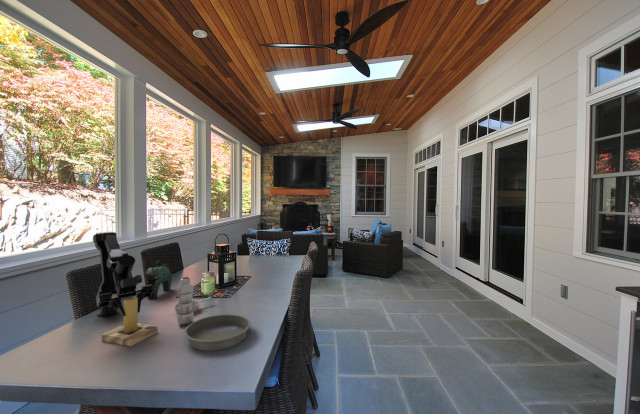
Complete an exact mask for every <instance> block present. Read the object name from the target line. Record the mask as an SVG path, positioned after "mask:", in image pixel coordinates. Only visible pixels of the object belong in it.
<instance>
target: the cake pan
mask: <svg viewBox="0 0 640 414" xmlns="http://www.w3.org/2000/svg"><path fill="white" fill-rule="evenodd" d="M220 326H234V327H237V328H234V329H228V330H223V331H214V332H201V331H204V330H207V329H209V328H213V327H220ZM250 326H251V320H249V319H248V318H247V317H246V316H242V315H239V314H230V313H229V314H216V315H215V314H214V315H210V316H209V315H208V316H205V317H203V318H200V319H197V320H195V321H192V322H191V323H190V324H188V326H187V325H186V328H185V329H184V331H183V333H184V336H185V337H186V338H187V339H188V340H187V341H188V344H189V345H190V347H191V348H193V349H195V350H199V351H206V352H207V351H218V350H224V349H228V348H230V347H233V346H235V345H237V344H239V343H241V342H242V341H243V340H244V339H245V338H246V336H247V332H248V330H249V329H250Z"/></svg>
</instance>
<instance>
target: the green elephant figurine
mask: <svg viewBox="0 0 640 414" xmlns="http://www.w3.org/2000/svg"><path fill="white" fill-rule="evenodd" d="M158 262H159V263H161V260H157V261H155V267H154V266H152V267H148V269H147V270H146V272H145V278H146V279H147V285H153V286H154V288H155V290H154V292H153V294H152V296H150V297H147V300H156V299H157V298H158V291H159V289H160V285H161V284H162V291H163V292H170V290H171V287H172V280H173V279H172V278H173V277H172V272H171V270H170V268H169V266H168V264H166V263H165V264H162V265H161V266H159V265H158V266H157V263H158Z"/></svg>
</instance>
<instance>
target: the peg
mask: <svg viewBox="0 0 640 414" xmlns="http://www.w3.org/2000/svg"><path fill="white" fill-rule="evenodd" d="M123 309H124V312H125V316H124V317H123V325H124V332H130V333H134V332H133V331H135V330H137V329H138V323H139V322H138V320H139V319H138V314H139V313H138V298H136V297H127V298H124V300H123Z"/></svg>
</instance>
